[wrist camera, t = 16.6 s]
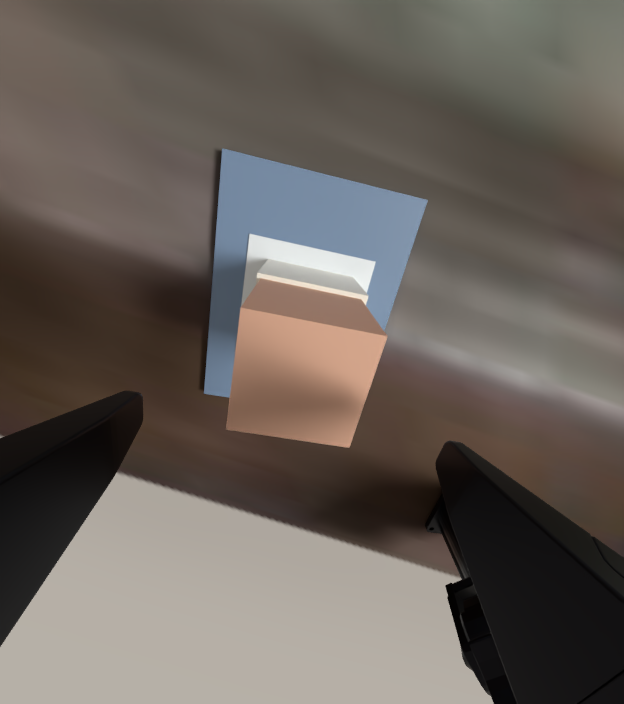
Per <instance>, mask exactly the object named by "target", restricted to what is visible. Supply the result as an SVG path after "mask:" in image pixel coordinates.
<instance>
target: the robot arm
mask: <svg viewBox="0 0 624 704" xmlns="http://www.w3.org/2000/svg"><path fill="white" fill-rule="evenodd" d="M142 421H143V397H142V394H141V393H139V392H132V391H123V392H120V393H117V394H115V395H112V396H110V397H107V398H104V399H102V400H99V401H96V402H94V403H91V404H89V405H86V406H83V407H81V408H78V409H76V410H73V411H70V412H68V413H65V414H63V415H60V416H57V417H55V418H52V419H50V420H47V421H44V422H42V423H39V424H37V425H34V426H31V427H29V428H26V429H24V430H21V431H18V432H16V433H13V434H10V435H8V436H5V437H3V438H0V646H1V645H2V643H3V642H4V640H5V639H6V637H7V636H8V634H9V633H10V631H11V630H12V628H13V627H14V626H15V624H16V622H17V621H18V619H19V618H20V617H21V615H22V614H23V612H24V611H25V609H26V608H27V606H28V605H29V603H30V602H31V600H32V599H33V597H34V596H35V594H36V593H37V591H38V590H39V588H40V587H41V585H42V584H43V582H44V581H45V579H46V578H47V576H48V575H49V573H50V572H51V570H52V569H53V567H54V566H55V564H56V563H57V561H58V560H59V558H60V557H61V555H62V554H63V552H64V551H65V549H66V548H67V546H68V545H69V543H70V542H71V540H72V539H73V537H74V536H75V534H76V533H77V532H78V530H79V529H80V527H81V525H82V524H83V522H84V521H85V520H86V518H87V517H88V515H89V513H90V512H91V511H92V509H93V508H94V506H95V505H96V503H97V502H98V500H99V499H100V497H101V496H102V494H103V493H104V491H105V490H106V488H107V487H108V485H109V484H110V482H111V480H112V479H113V477H114V476H115V474H116V472H117V471H118V469H119V467H120V465H121V463H122V461H123V459H124V457H125V455H126V454H127V452H128V450H129V448H130V446H131V444H132V442H133V440H134V438H135V436H136V434H137V432H138V431H139V429H140V427H141V424H142ZM436 471H437V474H438V478H439V482H440V486H441V490H442V493H443V494H442V496H441V498H440V499H439V501H438V503H437V505H436V507H435V508H434V510H433V512H432V514H431V516H430V518H429V519H428V521H427V523H426V525H425V527H426V529H427V531H428V532H433V533H441V534H442V535H443V537H444V540H445V542H446V544H447V547H448V549H449V551H450V553H451V556H452V558H453V560H454V563H455V565H456V567H457V569H458V572H459V574H460V576H461V578H462V580H460V581H458V582H456V583H454V584H452V583H450V584H448V585H446V590H447V593H448V601H449V605H450V609H451V612H452V616H453V619H454V623H455V627H456V630H457V634H458V637H459V641H460V645H461V651H462V657H463V660H464V662H465V664H466V666H467V667H468V668H470V669H471V670H472V671H473V672H474V673H475V675H476V677H477V679H478V681H479V682H480V684H481V686H482V687H483V688H484V690H485V691H486V693H487V694H488V695H490V696H491V697H492V700H493V702H494V704H624V558H623V557H622V556H621V555H619V554H618V553H616V552H615V551H613V550H612V549H610V548H609V547H608V546H606V545H605V544H603V543H602V542H601V541H599V540H598V539H596V538H595V537H593V536H591V535H590V534H589V533H588V532H586V531H585V530H584V529H582V528H581V527H579V526H578V525H577V524H575V523H574V522H572V521H571V520H570V519H568V518H567V517H565V516H564V515H563V514H561V513H560V512H558V511H557V510H555V509H554V508H553V507H551V506H550V505H548V504H547V503H546V502H544V501H543V500H541V499H540V498H539V497H537V496H536V495H534V494H533V493H532V492H530V491H529V490H527V489H526V488H525V487H523V486H522V485H520V484H519V483H518V482H516V481H515V480H513V479H512V478H510V477H509V476H508V475H506V474H505V473H503V472H502V471H501V470H499V469H498V468H496V467H495V466H494V465H492V464H491V463H489V462H488V461H487V460H485V459H484V458H482V457H481V456H480V455H478V454H477V453H475V452H474V451H472V450H471V449H470V448H468V447H467V446H465V445H464V444H463V443H461V442H455V441H447V442H446V443H445V444H444V446H443V448H442V450H441V452H440V454H439V456H438V458H437V460H436Z"/></svg>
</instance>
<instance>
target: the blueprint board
mask: <svg viewBox="0 0 624 704" xmlns="http://www.w3.org/2000/svg"><path fill="white" fill-rule="evenodd" d="M427 201H428V200H425V199H421V198H417V197H413V196H409V195H405V194H401V193H397V192H393V191H389V190H385V189H381V188H377V187H373V186H369V185H365V184H362V183H358V182H354V181H350V180H346V179H342V178H338V177H334V176H330V175H326V174H322V173H318V172H314V171H310V170H306V169H302V168H298V167H294V166H290V165H286V164H282V163H278V162H274V161H270V160H266V159H262V158H258V157H254V156H251V155H247V154H243V153H239V152H235V151H231V150H227V149H223V148H222V159H221V172H220V186H219V199H218V213H217V226H216V239H215V253H214V266H213V280H212V293H211V307H210V320H209V334H208V347H207V360H206V374H205V387H204V394H210V395H217V396H223V397H229V398H230V391H231V383H232V375H233V367H234V358H235V350H236V342H237V333H238V325H239V317H240V308H241V306H242V305H243V303H244V302H245V300H246V299H247V297H248V296H249V294H250V293H251V291H252V290H253V289H254V287H255V286H256V279H257V272H258V271H259V270H260V269H261V267H262V266H263V265H264V264H265V262H266V261H267V260H268V259H272V260H276V261H281V262H286V263H290V264H295V265H299V266H304V267H309V268H313V269H318V270H323V271H327V272H332V273H337V274H341V275H346V276H351V277H353V278H354V279H355V280H356V281H357V282H358V284H359V285H360V286H361V287H362V288H363V290H364V291H365V292H366V293H367V294H368V300H367V303H366V307H367V308H368V309H369V311H370V312H371V314H372V315H373V317H374V318H375V319H376V321H377V322H378V324H379V325H380V326H381V328H382V329H383V331H384V330H385V327H386V324H387V321H388V318H389V315H390V312H391V309H392V306H393V303H394V300H395V297H396V294H397V291H398V288H399V285H400V282H401V279H402V276H403V273H404V270H405V267H406V264H407V261H408V258H409V255H410V252H411V249H412V246H413V243H414V240H415V237H416V234H417V231H418V228H419V225H420V222H421V219H422V216H423V213H424V210H425V207H426V204H427Z"/></svg>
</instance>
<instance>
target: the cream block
mask: <svg viewBox="0 0 624 704" xmlns="http://www.w3.org/2000/svg"><path fill="white" fill-rule="evenodd" d="M260 278H262V279H267V280H272V281H277V282H281V283H286V284H291V285H296V286H301V287H305V288H310V289H315V290H320V291H324V292H329V293H334V294H339V295H344V296H348V297H353V298H358V299H361V300H362V301H363V302H364V304H365V305H366V303H367V300H368V294H367V293H366V292H365V291H364V290H363V288H362V287H361V286H360V285H359V284H358V282H357V281H356V280H355V279H354V278H353V277H351V276H346V275H341V274H337V273H332V272H327V271H323V270H318V269H313V268H309V267H304V266H299V265H295V264H290V263H286V262H281V261H276V260H272V259H268V260H267V261H266V262H265V264H264V265H263V266H262V267H261V269H260V270H259V271H258V272H257V279H256V284H257V283H258V281H259V280H260Z"/></svg>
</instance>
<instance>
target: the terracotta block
mask: <svg viewBox="0 0 624 704" xmlns="http://www.w3.org/2000/svg"><path fill="white" fill-rule="evenodd" d="M386 339H387V335H386V334H385V332H384V331H383V329H382V328H381V326H380V325H379V324H378V322H377V321H376V319H375V318H374V317H373V315H372V314H371V312H370V311H369V309H368V308H367V307H366V305H365V304H364V302H363V301H362V300H361V299H358V298H353V297H348V296H344V295H339V294H334V293H329V292H324V291H320V290H315V289H310V288H305V287H301V286H296V285H291V284H286V283H281V282H277V281H272V280H267V279H262V278H260V280H259V281H258V283H257V284H256V286H255V287H254V289H253V290H252V291H251V293H250V294H249V296H248V297H247V299H246V300H245V302H244V303H243V305H242V306H241V308H240V317H239V325H238V333H237V342H236V350H235V358H234V367H233V375H232V383H231V391H230V400H229V408H228V416H227V425H226V429H227V430H233V431H240V432H247V433H253V434H260V435H267V436H274V437H280V438H287V439H294V440H300V441H307V442H314V443H320V444H327V445H334V446H341V447H347V448H349V447H350V444H351V441H352V438H353V435H354V433H355V430H356V427H357V424H358V421H359V418H360V415H361V412H362V409H363V406H364V403H365V401H366V398H367V395H368V392H369V389H370V386H371V383H372V380H373V377H374V374H375V371H376V369H377V366H378V363H379V360H380V357H381V354H382V351H383V348H384V345H385V342H386Z"/></svg>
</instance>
